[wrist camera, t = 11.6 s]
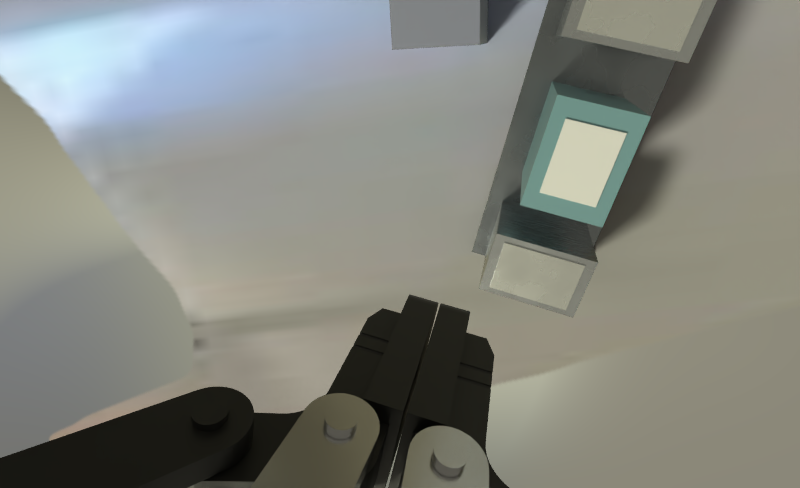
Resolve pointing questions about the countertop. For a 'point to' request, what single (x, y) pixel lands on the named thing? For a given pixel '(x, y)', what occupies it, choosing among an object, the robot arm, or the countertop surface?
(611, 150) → the block
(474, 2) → the block
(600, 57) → the rail
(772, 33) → the countertop surface
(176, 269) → the countertop surface
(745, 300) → the countertop surface
